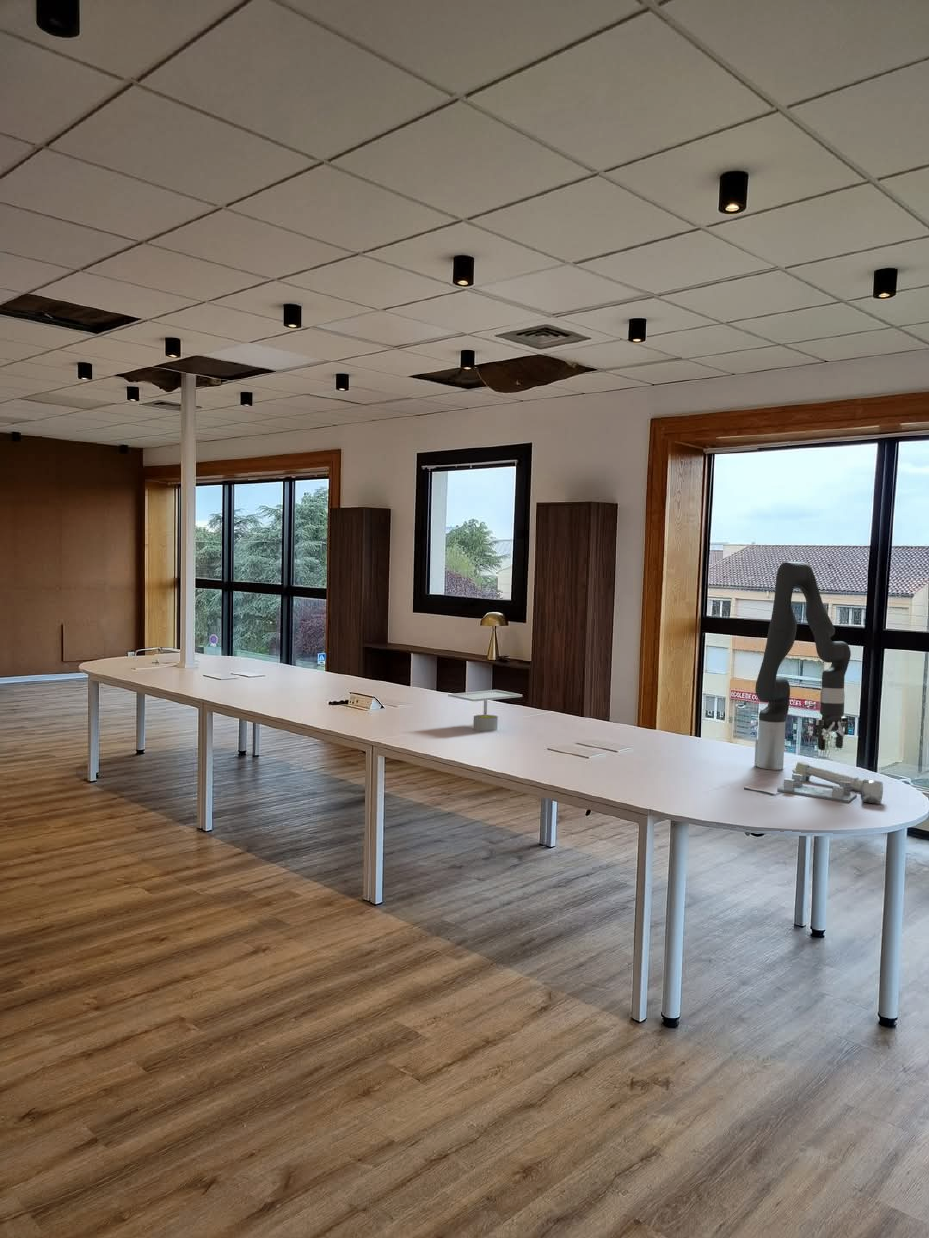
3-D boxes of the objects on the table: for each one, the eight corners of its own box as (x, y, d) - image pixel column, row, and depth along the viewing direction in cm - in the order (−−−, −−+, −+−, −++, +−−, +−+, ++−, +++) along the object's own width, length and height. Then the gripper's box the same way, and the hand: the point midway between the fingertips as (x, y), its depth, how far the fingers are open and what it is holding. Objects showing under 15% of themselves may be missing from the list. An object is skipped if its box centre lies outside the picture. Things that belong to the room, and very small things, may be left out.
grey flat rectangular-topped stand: (495, 722, 410) (496, 689, 410) (521, 728, 397) (522, 694, 396) (446, 728, 393) (447, 694, 392) (472, 735, 380) (473, 699, 379)
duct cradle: (777, 791, 298) (778, 769, 298) (786, 785, 307) (787, 764, 306) (876, 807, 281) (877, 784, 280) (883, 800, 289) (884, 778, 289)
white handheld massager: (863, 782, 298) (792, 758, 316) (859, 801, 299) (788, 777, 317) (870, 780, 301) (799, 756, 319) (866, 799, 302) (795, 774, 320)
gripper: (837, 698, 314) (835, 745, 315) (808, 700, 307) (806, 748, 308) (856, 701, 307) (854, 749, 308) (827, 703, 300) (825, 752, 301)
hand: (830, 748), depth 308 cm, fingers open, 8 cm apart
